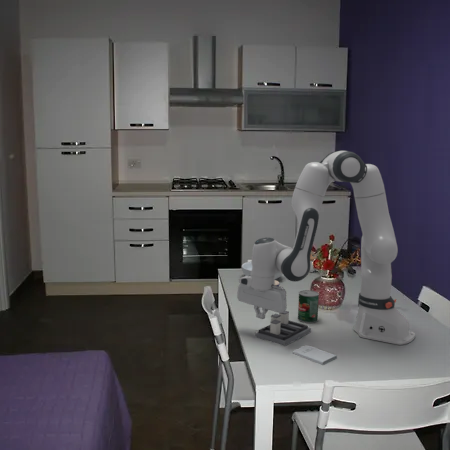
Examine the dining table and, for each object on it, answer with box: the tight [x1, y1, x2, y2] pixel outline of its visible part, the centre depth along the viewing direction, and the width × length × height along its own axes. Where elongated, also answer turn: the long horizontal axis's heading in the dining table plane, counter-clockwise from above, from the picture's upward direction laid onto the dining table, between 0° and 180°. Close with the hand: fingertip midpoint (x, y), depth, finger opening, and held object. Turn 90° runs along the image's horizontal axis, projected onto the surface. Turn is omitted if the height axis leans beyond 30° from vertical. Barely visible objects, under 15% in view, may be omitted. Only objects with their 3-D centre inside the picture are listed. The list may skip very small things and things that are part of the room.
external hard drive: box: [292, 344, 338, 366], centre depth 193 cm, size 2×8×12 cm
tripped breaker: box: [269, 320, 281, 335], centre depth 207 cm, size 2×3×5 cm
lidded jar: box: [309, 253, 316, 273], centre depth 300 cm, size 11×11×9 cm
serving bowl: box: [241, 261, 283, 280], centre depth 283 cm, size 21×21×7 cm
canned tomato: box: [297, 289, 320, 324], centre depth 227 cm, size 8×8×11 cm
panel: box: [254, 320, 312, 347], centre depth 211 cm, size 13×18×2 cm
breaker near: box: [278, 310, 290, 324], centre depth 217 cm, size 2×3×5 cm
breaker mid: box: [270, 313, 281, 327], centre depth 213 cm, size 2×3×5 cm
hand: (260, 318), depth 210 cm, fingers closed
